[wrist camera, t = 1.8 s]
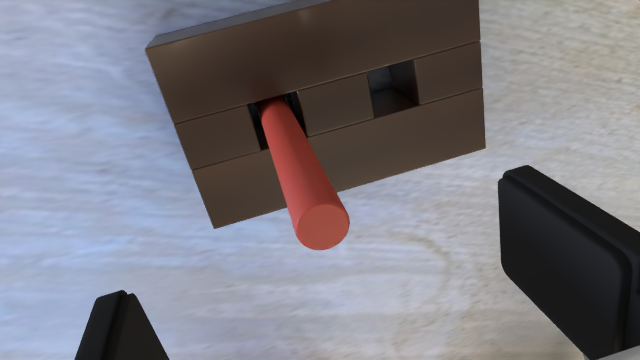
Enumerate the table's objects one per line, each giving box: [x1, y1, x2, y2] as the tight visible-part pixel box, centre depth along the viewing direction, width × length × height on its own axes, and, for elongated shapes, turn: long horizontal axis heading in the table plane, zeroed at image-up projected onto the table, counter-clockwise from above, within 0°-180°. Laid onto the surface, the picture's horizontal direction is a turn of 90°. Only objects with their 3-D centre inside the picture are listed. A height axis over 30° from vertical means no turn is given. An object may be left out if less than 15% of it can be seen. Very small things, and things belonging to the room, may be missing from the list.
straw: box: [255, 95, 350, 250], centre depth 19 cm, size 2×2×14 cm
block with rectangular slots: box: [145, 0, 486, 229], centre depth 24 cm, size 9×15×4 cm, turn 102°
